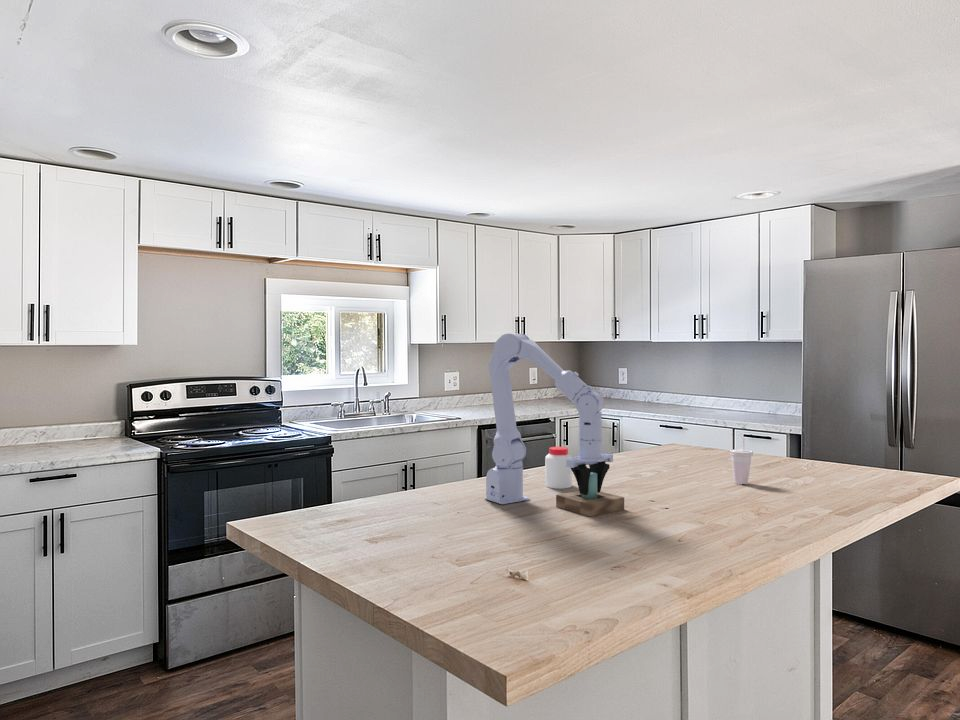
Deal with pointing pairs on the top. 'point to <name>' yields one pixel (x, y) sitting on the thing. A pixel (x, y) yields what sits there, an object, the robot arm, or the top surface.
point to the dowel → (591, 487)
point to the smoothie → (741, 464)
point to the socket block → (590, 503)
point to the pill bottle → (557, 468)
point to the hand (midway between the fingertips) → (589, 492)
